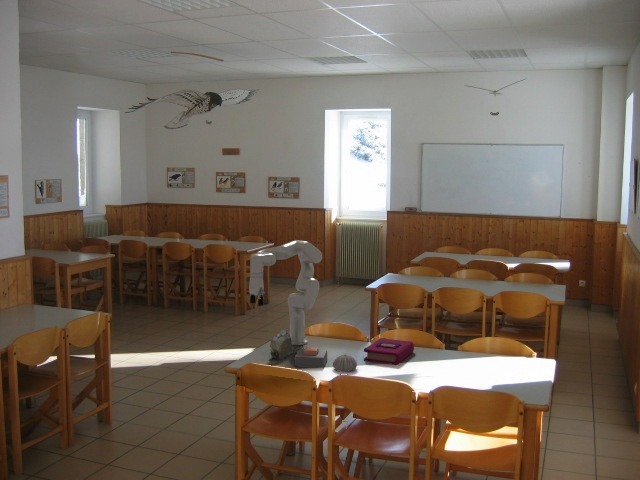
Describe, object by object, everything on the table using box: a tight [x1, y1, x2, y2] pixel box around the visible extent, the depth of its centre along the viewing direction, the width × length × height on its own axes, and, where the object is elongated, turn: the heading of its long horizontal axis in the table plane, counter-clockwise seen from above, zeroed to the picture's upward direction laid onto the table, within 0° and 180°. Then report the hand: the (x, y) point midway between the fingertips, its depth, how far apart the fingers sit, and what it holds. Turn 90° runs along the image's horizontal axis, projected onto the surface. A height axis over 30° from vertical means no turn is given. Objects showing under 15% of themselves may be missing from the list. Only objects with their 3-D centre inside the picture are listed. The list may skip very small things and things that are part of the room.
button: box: [304, 346, 319, 355], centre depth 375 cm, size 7×7×3 cm
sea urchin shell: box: [332, 354, 358, 373], centre depth 363 cm, size 13×14×8 cm
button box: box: [294, 348, 328, 368], centre depth 375 cm, size 16×16×6 cm
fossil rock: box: [269, 329, 294, 362], centre depth 389 cm, size 21×10×15 cm, turn 157°
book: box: [363, 337, 415, 366], centre depth 386 cm, size 21×28×8 cm
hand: (256, 304), depth 390 cm, fingers open, 9 cm apart
